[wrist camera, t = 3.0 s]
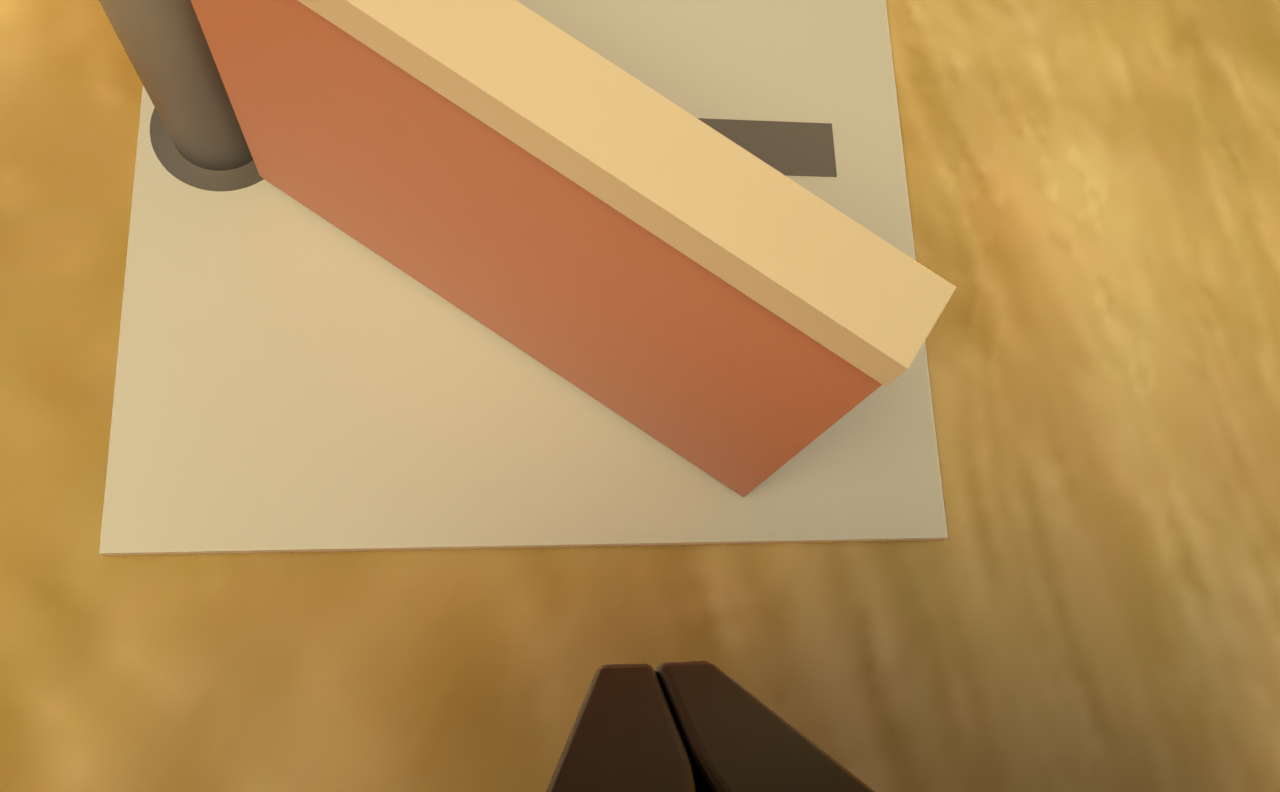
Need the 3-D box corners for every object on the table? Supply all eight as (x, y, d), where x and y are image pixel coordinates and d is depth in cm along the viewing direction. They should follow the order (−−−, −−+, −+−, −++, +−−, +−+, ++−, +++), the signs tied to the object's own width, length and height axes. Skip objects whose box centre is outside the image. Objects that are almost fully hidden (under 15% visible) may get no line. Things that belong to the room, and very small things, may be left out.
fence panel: (254, 181, 20) (120, -148, 13) (295, 135, 21) (190, -212, 13) (739, 504, 20) (907, 369, 12) (772, 451, 20) (955, 287, 13)
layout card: (941, 540, 21) (948, 537, 21) (105, 555, 19) (98, 552, 19) (862, -155, 25) (866, -166, 25) (174, -209, 23) (170, -222, 23)
